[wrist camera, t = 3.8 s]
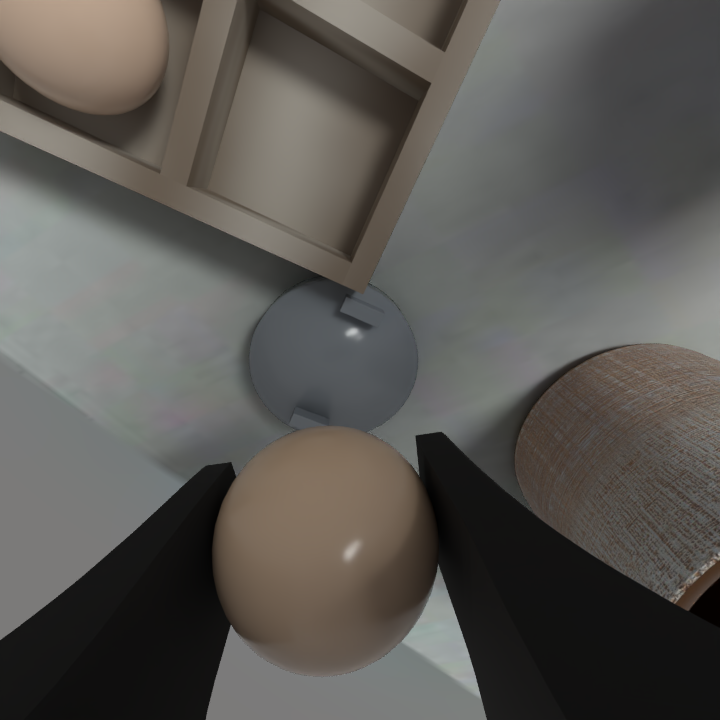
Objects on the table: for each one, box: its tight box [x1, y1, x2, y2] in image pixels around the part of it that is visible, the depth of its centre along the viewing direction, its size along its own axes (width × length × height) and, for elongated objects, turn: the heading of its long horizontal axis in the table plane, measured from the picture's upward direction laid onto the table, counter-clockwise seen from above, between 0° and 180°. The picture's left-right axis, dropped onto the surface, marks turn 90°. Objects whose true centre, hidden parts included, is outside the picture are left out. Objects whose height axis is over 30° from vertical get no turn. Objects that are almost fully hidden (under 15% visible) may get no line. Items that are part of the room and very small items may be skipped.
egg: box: [0, 0, 170, 115], centre depth 10 cm, size 4×4×4 cm
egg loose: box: [212, 425, 439, 677], centre depth 8 cm, size 4×4×4 cm
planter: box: [514, 344, 720, 628], centre depth 15 cm, size 11×11×10 cm
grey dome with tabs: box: [249, 276, 418, 432], centre depth 16 cm, size 7×7×2 cm
